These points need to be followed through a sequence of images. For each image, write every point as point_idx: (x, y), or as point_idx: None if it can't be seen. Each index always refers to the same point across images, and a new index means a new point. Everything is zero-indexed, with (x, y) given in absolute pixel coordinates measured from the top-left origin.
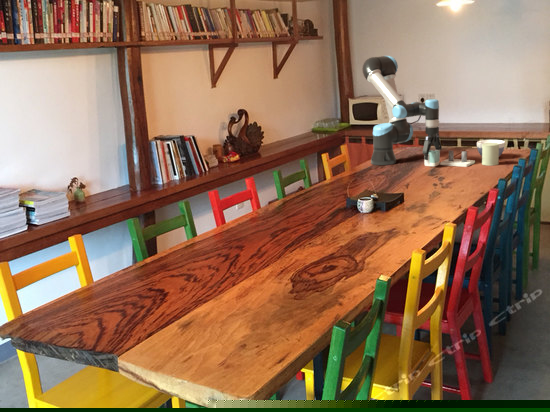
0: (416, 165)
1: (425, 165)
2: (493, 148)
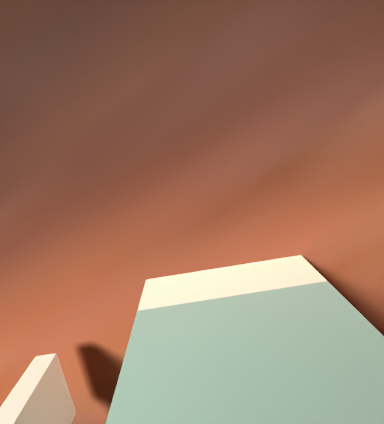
0: (88, 150)
1: (147, 285)
2: None
